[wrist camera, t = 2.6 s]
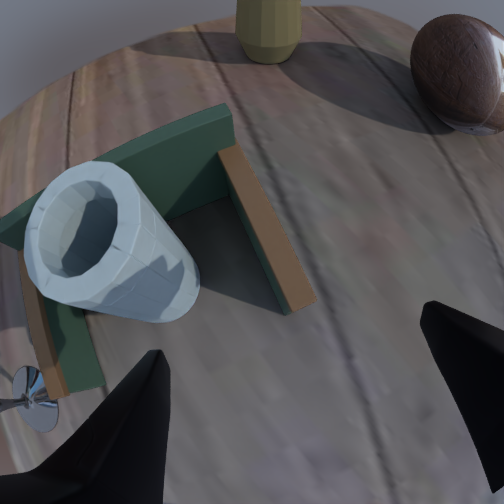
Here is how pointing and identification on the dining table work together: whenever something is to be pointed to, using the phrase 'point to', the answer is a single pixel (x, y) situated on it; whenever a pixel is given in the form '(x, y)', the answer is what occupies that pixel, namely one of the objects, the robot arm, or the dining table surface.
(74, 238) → the storage jar
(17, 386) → the wine glass
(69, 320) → the cubby cabinet
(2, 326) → the dining table surface
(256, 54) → the squeeze bottle
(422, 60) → the wooden sphere
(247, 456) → the dining table surface
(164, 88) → the dining table surface
